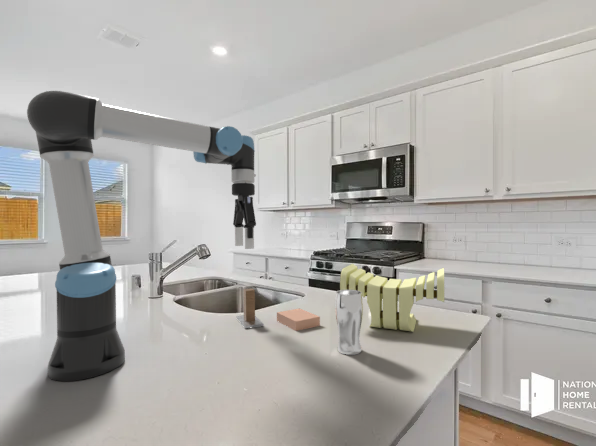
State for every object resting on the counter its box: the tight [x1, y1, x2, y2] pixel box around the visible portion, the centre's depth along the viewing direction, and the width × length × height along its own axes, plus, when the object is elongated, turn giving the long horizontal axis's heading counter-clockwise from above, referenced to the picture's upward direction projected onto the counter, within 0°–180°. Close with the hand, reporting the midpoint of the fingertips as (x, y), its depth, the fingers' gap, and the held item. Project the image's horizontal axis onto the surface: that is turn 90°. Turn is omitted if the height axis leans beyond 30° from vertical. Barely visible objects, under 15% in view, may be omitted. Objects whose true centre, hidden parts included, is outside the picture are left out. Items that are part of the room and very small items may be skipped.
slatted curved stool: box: [339, 263, 445, 333], centre depth 106 cm, size 30×16×18 cm, turn 67°
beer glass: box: [334, 290, 364, 356], centre depth 85 cm, size 7×7×15 cm
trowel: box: [235, 288, 265, 329], centre depth 109 cm, size 12×6×11 cm, turn 23°
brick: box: [276, 308, 321, 332], centre depth 108 cm, size 3×9×12 cm
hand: (244, 247), depth 110 cm, fingers open, 13 cm apart
